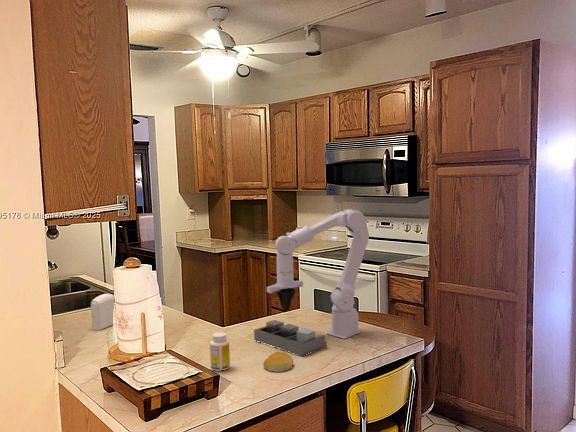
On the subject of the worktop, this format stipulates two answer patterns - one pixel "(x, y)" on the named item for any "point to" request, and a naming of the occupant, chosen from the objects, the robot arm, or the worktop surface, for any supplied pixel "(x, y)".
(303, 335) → the grey block
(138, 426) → the worktop surface
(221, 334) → the supplement bottle
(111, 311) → the photo printer
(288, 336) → the rack
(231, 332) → the worktop surface
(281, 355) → the bread roll
